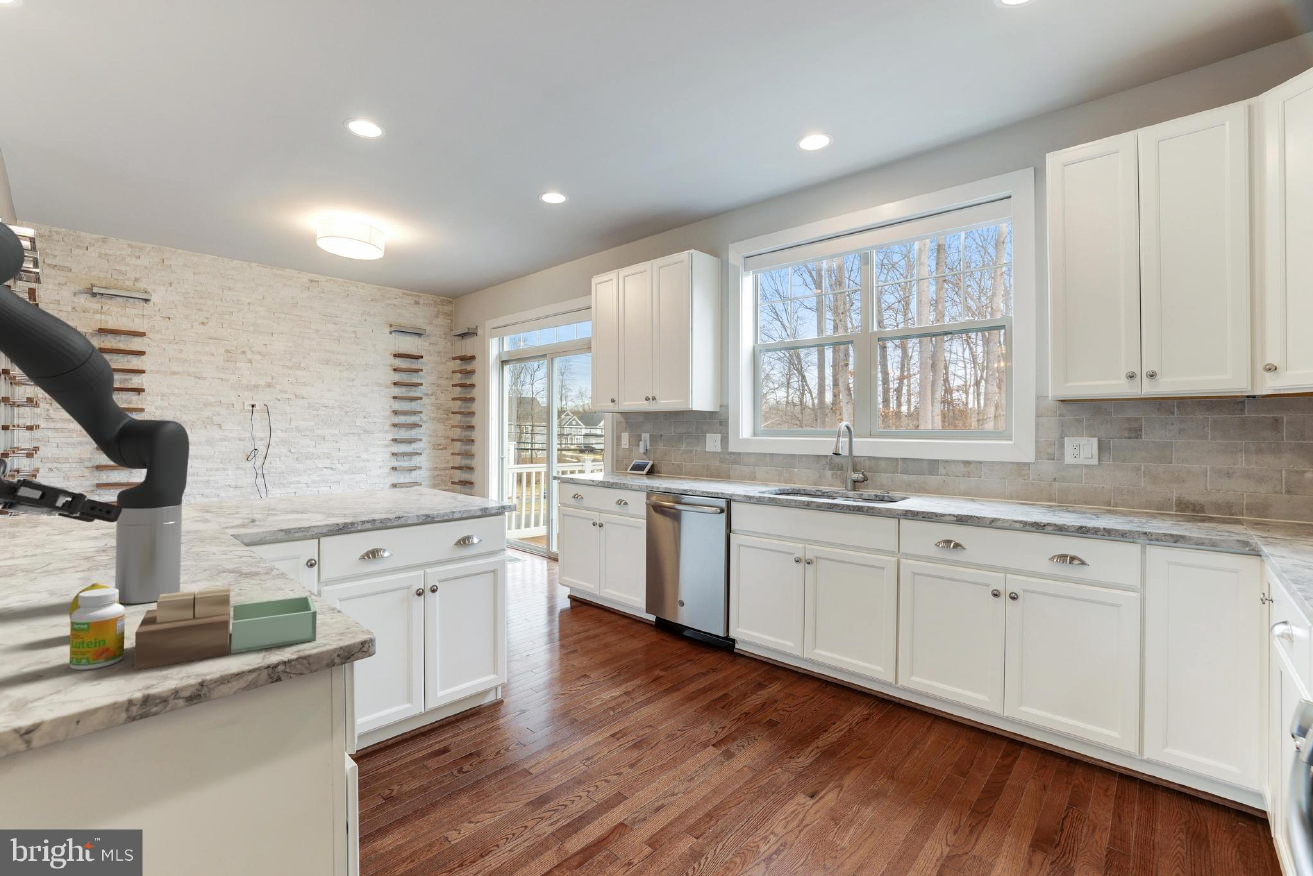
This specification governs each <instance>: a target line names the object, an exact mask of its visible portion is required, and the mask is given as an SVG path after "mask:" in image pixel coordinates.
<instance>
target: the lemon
mask: <svg viewBox="0 0 1313 876" xmlns="http://www.w3.org/2000/svg"><path fill="white" fill-rule="evenodd" d="M104 588H111V587H109V586H107V585H103V584H100V583H99V582H96V583H92V584H91V585H89V586H87V587H85V588H83V589H81V590H80V591H79V592H77V593H76V595H75V596H74V597H73V599H72V601H71V603H70V606H69V612H68V613H69V614H68V615H69V621H71V615H72V613H73V612H74V611H76V610H78V609H80V607H81V606H79V605H78V604H79V603H78V595H79V594H80V593H82V592H85V591H90V590H95V589H104ZM116 604H120V603H119V599H118V600H117V601H116Z"/></svg>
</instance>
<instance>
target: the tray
mask: <svg viewBox="0 0 1313 876" xmlns="http://www.w3.org/2000/svg"><path fill="white" fill-rule="evenodd" d="M315 605H316V604H315V603H314V599H313V597H312V595H302V596H295V597H285V598H279V599H270V600H260V601H259V600H258V601H251V602H244V603H242V602H241V603H234V604H233V607H232V612H233V613H232V620H231V643H230V645H231V647H230V649H231V652H230V654H237V653H243V652H244V653H245V652H249V651H256V650H261V649H262V650H263V649H268V648H275V647H280V646H281V647H282V646H288V645H295V644H302V643H307V642H312V641H317V609H316V606H315Z"/></svg>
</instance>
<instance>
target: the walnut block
mask: <svg viewBox="0 0 1313 876" xmlns="http://www.w3.org/2000/svg"><path fill="white" fill-rule="evenodd" d="M230 633H231V609H230V610H229V614H223V615H215V616H207V617H199V618H195V613H194V616H193V618H191V619H183V620H175V621H167V622H159V623H157V608H156V609H149V610H146V612H145V614H144V616H143V617H142V619H141V622H140V624H139V625H138V627H137V629H136V630H135V634H134V635H135V636H134V637H135V639H134V641H135V642H134V670H142V669H147V668H149V669H150V668H155V667H161V666H167V665H168V666H169V665H174V664H180V663H186V662H194V661H200V660H204V659H205V660H206V659H212V658H219V657H225V656H228V654H229V644H230V636H231V635H230Z"/></svg>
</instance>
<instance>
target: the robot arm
mask: <svg viewBox="0 0 1313 876" xmlns="http://www.w3.org/2000/svg"><path fill="white" fill-rule="evenodd" d="M25 256H26V254H25V248H24V246H23V243H22V241H21V240H20V237H19V236H18V235H17V234H16V232H15V231H14V230H13V229H12V228H11V227H9V225H7V224H5V223H3V222H1V221H0V352H1V353H2V354H3V355H4V356H6V358H8V359H9V360H10V361H11V362H12V363H13V364H14V366H16V368H17V369H19V371H21V373H23V374H24V375H25V376H26V377H27V378H29V380H30V381H31V382H33V383H34V384H35V385H36V387H38V388H39V389H40V390H42V391H43V392H44V393H45V394H46V395H48V396H49V397H50V398H51V399H52V400H54V402H56V404H58V405H59V406H60V407H61V409H63V410H64V411H65V412H66V413H67V415H69V416H70V417H71V418H72V419H73V420H74V421H75V422H76V423H77V424H78V425H79V426H80V427H81V428H82V429H83V430H84V432H85V433H86V434H87V435H88V436H89V437H90V439H91V440H92V441H93V442H94V443H95V445H96V446H97V447H98V448H99V449H100V451H101V452H102V453H103V454H104V455H105V456H106V457H107V458H108V459H109V460H110V462H112V463H113V464H115V465H117V466H118V467H122V468H126V469H130V470H131V469H132V470H133V469H134V470H138V469H140V470H146V472H145V473H146V474H145V476H144V480H143V481H141V482H140V483H139V484H137V485H134V486H132V487H129V488H125V489H122V490H120V491H119V492H118V493H117V496H116V504H112V503H107V502H104V501H99V500H96V499H91V498H89V497H88V496H87V495H86V494H85V493H82V492H73V491H71V490H70V491H69V490H67V489H65V488H63V487H59V486H55V485H50V484H49V485H48V484H45V483H42V482H41V481H37V480H34V479H30V478H22V479H18V478H17V479H16V480H15V481H11V480H6V479H4V477H3V476H4V474H5V473H6V472H7V467H8V463H7V461H6V460H5V458H2V457H0V506H1V507H0V510H3V511H7V512H12V513H23V514H28V515H33V516H41V515H44V516H48V517H52V516H53V517H56V515H57V516H58V517H62V518H67V519H72V520H77V521H81V522H85V523H92V522H94V521H95V520H98V521H101V522H107V523H115V522H116V527H115V528H116V530H115V531H116V534H115V535H116V536H115V574H114V575H115V576H114V578H115V579H114V582H115V583H114V589H118V590H119V598H118V599H119V604H127V605H128V604H131V605H132V604H143V603H151V602H157V600H158V599H159V597H160V595H161V594H170V593H179V592H181V571H182V570H181V569H182V568H181V567H182V566H181V563H182V561H181V559H182V558H181V557H182V516H183V515H182V512H183V510H182V509H183V508H182V507H183V506H182V505H183V504H182V503H183V495H184V493H185V490H186V487H187V481H188V467H189V457H190V439H189V434H188V431H187V430H186V427H185V426H183V425H182V424H181V423H180V422H178V421H175V420H162V419H137V418H134V417H132V416H131V415H129V414H128V413H126V412H125V410H123V408H121V406H119V404H118V403H117V402H116V401H115V400H114V395H113V394H114V387H115V374H114V370H113V368H112V366H111V364H110V362H109V361H108V360H107V358H106V357H105V356H104V355H103V354H102V353H101V351H100V350H99V349H98V348H97V347H96V346H95V345H94V344H93V343H92V341H90V339H88V338H87V337H86V335H84V334H83V333H82V332H80V331H79V329H77V328H75V327H73V326H72V325H71V324H69V323H67V322H66V321H65V320H62V319H61V318H59V317H57V316H55V315H53V314H52V313H50V312H48V311H46V310H45V309H43V308H41V307H39V306H37V305H36V304H33V303H31V302H30V301H28V300H26V299H25V298H23V297H21V296H20V295H19V294H17V293H15V291H13V290H12V289H10V288H9V287H8V286H7V285H6V284H5V283H7V282H9V281H11V280H13V278H15V277H16V276H17V275H18V274H19V273H20V272H21V270H22V269H23V266H24V263H25V258H26V257H25Z"/></svg>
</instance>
